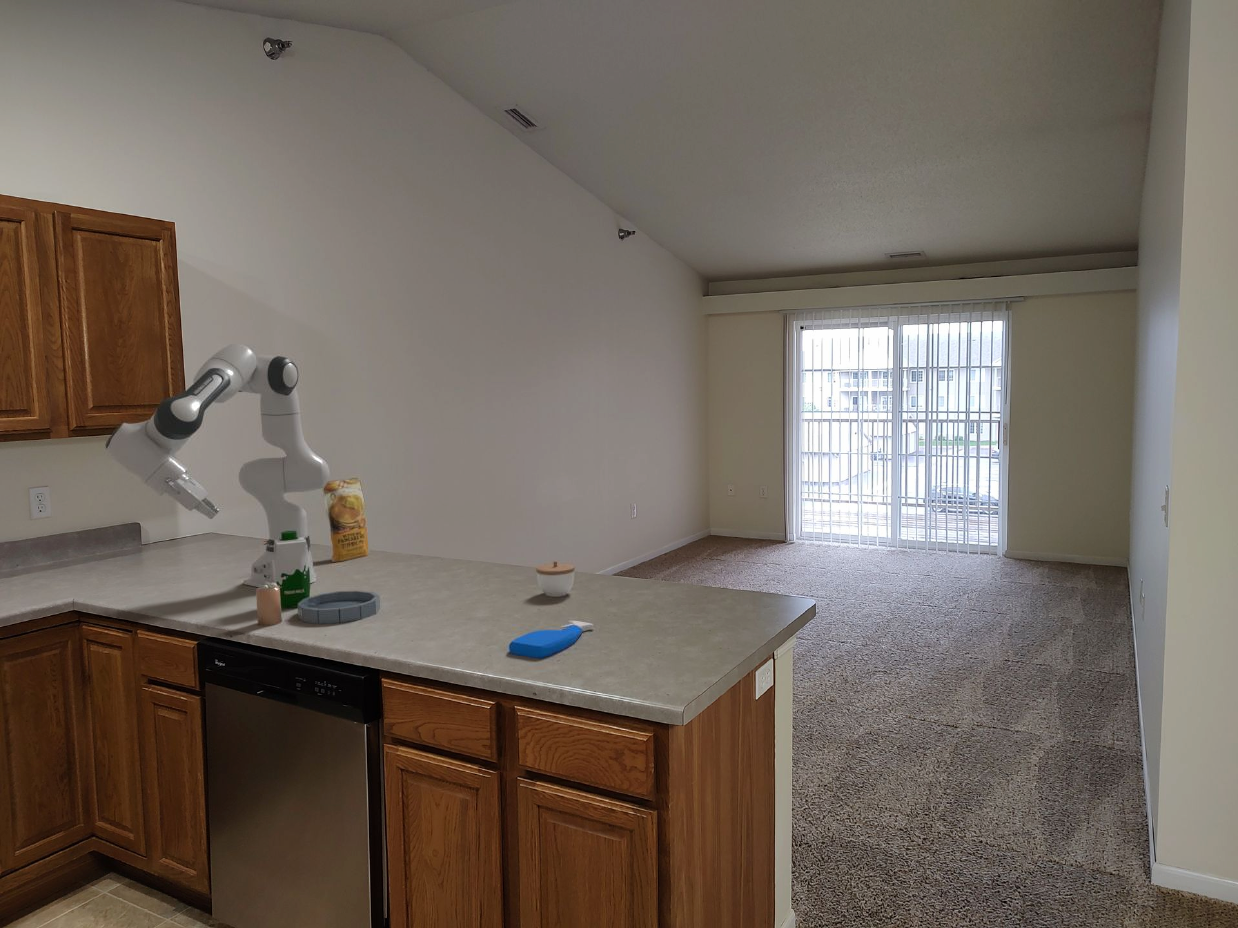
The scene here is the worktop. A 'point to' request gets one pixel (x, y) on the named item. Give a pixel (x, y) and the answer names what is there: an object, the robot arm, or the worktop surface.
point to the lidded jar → (555, 578)
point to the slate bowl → (338, 606)
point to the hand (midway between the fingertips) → (215, 514)
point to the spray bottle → (548, 640)
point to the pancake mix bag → (346, 519)
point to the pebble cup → (268, 604)
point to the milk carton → (292, 568)
